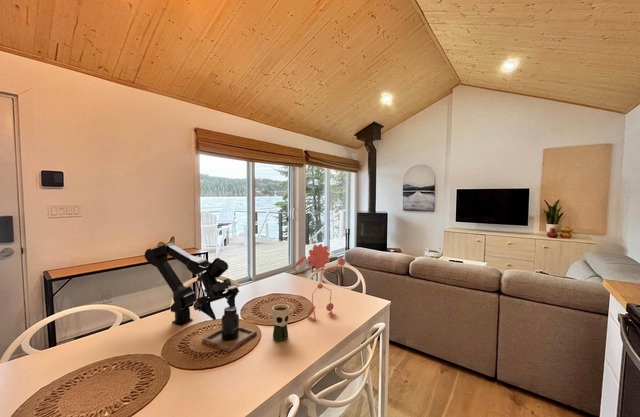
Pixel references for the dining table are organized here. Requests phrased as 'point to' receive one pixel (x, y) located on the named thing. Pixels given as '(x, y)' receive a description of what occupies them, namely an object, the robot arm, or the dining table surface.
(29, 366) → the dining table surface
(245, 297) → the dining table surface
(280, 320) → the character mug
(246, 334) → the tray
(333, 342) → the dining table surface
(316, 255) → the figurine
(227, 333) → the supplement bottle
